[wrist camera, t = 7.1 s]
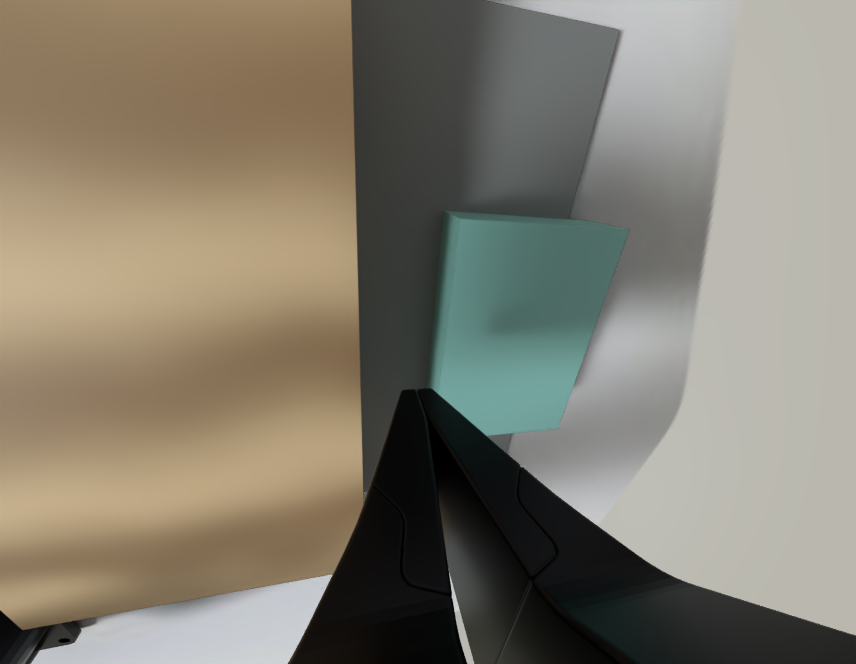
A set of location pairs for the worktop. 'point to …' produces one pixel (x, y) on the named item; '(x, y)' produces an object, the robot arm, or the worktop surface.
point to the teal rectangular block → (516, 314)
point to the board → (175, 301)
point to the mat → (454, 157)
